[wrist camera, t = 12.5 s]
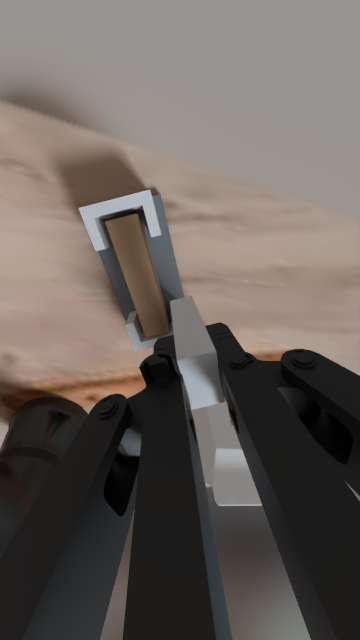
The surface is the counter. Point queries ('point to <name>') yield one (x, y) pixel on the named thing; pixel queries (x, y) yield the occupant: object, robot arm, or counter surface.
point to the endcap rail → (159, 247)
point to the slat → (139, 272)
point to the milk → (223, 457)
